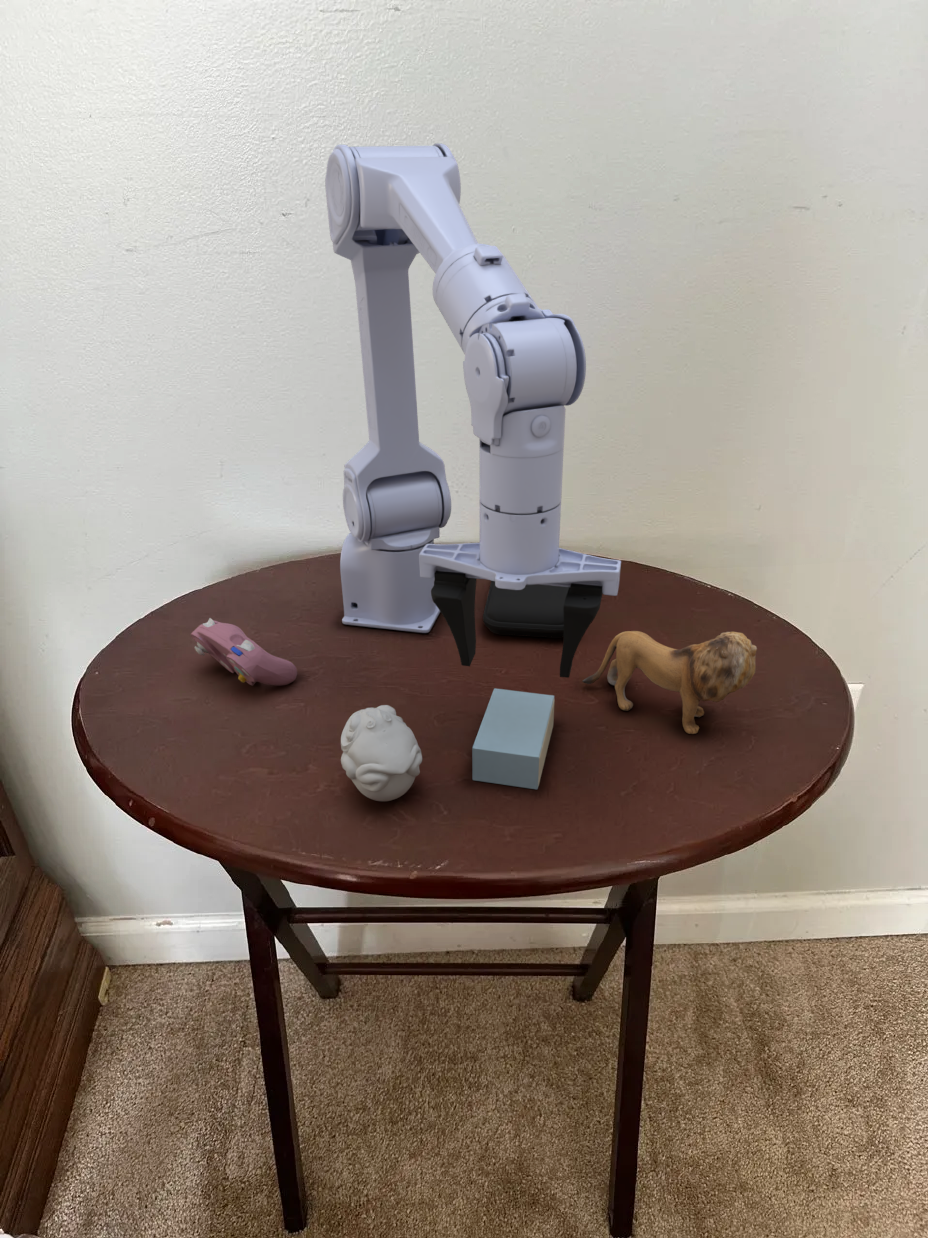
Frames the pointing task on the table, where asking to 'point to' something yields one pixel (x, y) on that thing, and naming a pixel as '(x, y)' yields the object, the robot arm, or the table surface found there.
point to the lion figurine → (681, 669)
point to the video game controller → (242, 654)
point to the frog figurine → (380, 753)
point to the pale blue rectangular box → (513, 739)
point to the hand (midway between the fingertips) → (516, 665)
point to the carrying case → (526, 611)
